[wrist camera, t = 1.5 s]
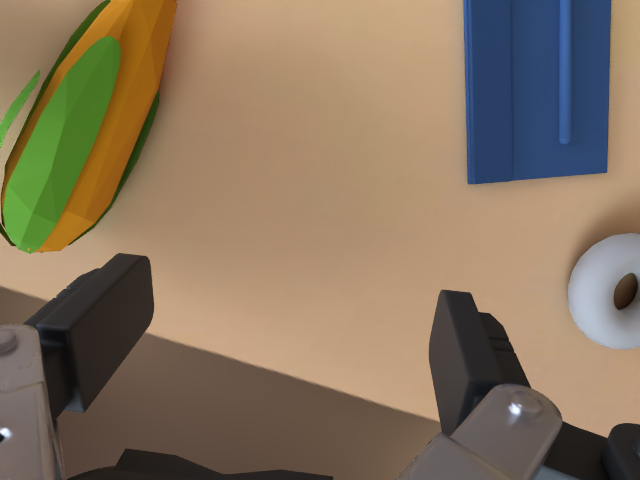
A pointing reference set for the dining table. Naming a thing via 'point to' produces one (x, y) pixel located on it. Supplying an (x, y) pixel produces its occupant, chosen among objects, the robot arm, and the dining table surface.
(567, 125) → the blue rectangular panel
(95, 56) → the corn
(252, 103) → the dining table surface
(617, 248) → the donut
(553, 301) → the dining table surface
